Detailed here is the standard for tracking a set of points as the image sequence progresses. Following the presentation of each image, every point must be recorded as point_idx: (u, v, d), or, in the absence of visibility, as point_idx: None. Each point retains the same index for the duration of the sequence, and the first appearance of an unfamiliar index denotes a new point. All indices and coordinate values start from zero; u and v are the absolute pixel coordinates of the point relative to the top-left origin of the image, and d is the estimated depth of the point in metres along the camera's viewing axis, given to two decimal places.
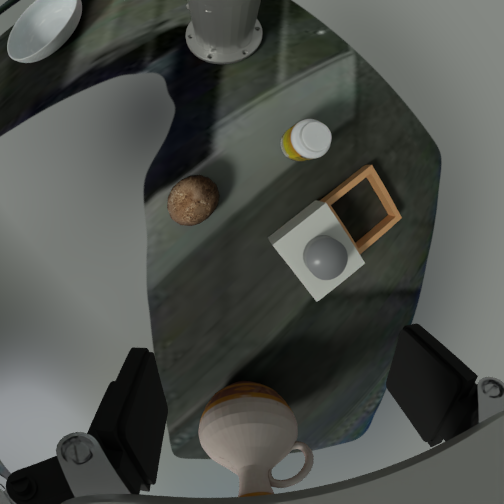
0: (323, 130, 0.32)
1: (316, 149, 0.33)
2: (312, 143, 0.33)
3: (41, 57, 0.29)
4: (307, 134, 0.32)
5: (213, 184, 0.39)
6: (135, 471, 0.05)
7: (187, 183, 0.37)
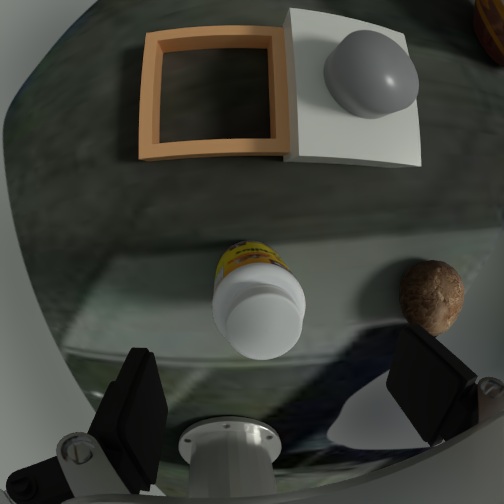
0: (241, 331, 0.14)
1: (288, 304, 0.14)
2: (287, 320, 0.14)
3: None
4: (283, 342, 0.14)
5: (409, 303, 0.22)
6: (135, 471, 0.05)
7: (436, 330, 0.21)
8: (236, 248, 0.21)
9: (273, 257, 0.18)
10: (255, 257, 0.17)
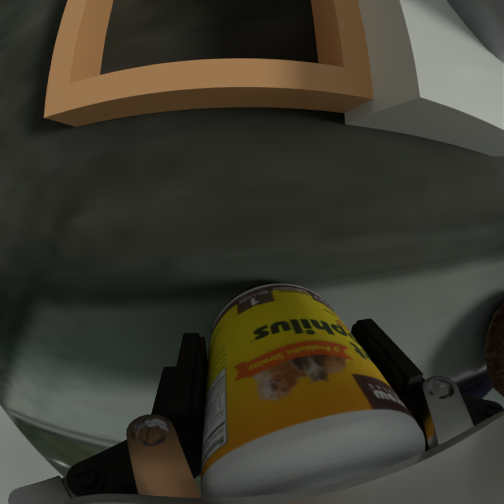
0: None
1: None
2: None
3: None
4: None
5: (502, 363, 0.11)
6: (198, 450, 0.06)
7: None
8: (253, 311, 0.09)
9: (353, 355, 0.06)
10: (318, 375, 0.05)
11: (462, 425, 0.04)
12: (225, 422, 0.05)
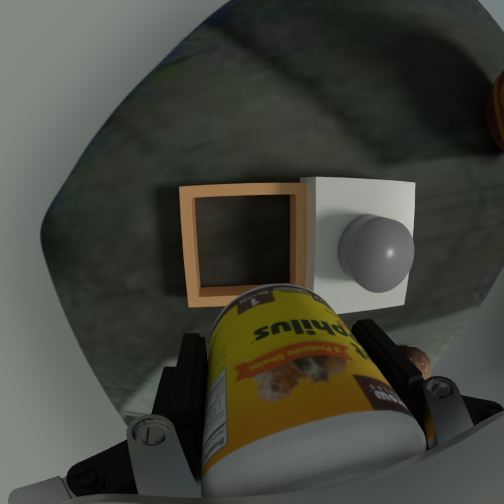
0: None
1: None
2: None
3: None
4: None
5: None
6: (198, 450, 0.06)
7: None
8: (253, 311, 0.09)
9: (354, 356, 0.06)
10: (318, 376, 0.05)
11: (462, 425, 0.04)
12: (225, 423, 0.05)
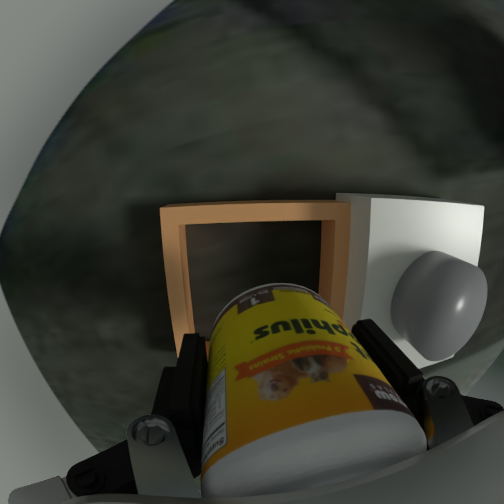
0: None
1: None
2: None
3: None
4: None
5: None
6: (198, 450, 0.06)
7: None
8: (253, 311, 0.09)
9: (355, 355, 0.06)
10: (318, 375, 0.05)
11: (462, 425, 0.04)
12: (225, 423, 0.05)
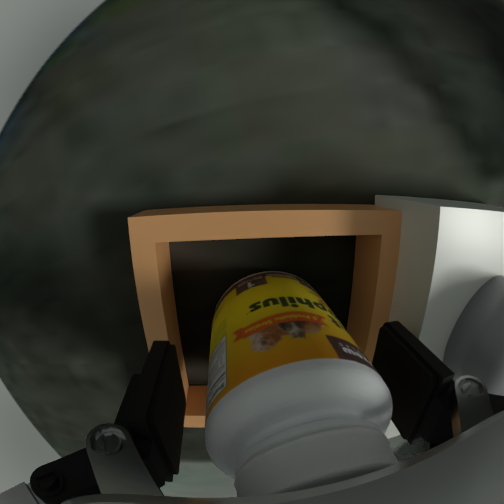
0: None
1: None
2: None
3: None
4: None
5: None
6: (162, 461, 0.06)
7: None
8: (249, 292, 0.11)
9: (329, 323, 0.08)
10: (297, 334, 0.07)
11: None
12: (225, 372, 0.07)
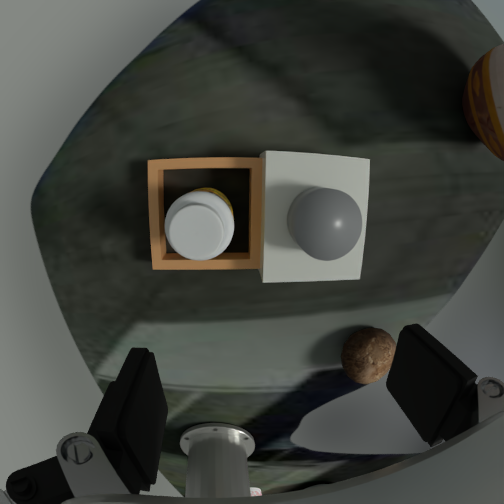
0: (178, 234, 0.19)
1: (211, 214, 0.19)
2: (211, 227, 0.19)
3: None
4: (209, 245, 0.20)
5: (346, 362, 0.32)
6: (136, 471, 0.05)
7: (365, 381, 0.31)
8: (193, 190, 0.26)
9: (215, 192, 0.24)
10: (199, 190, 0.23)
11: None
12: None
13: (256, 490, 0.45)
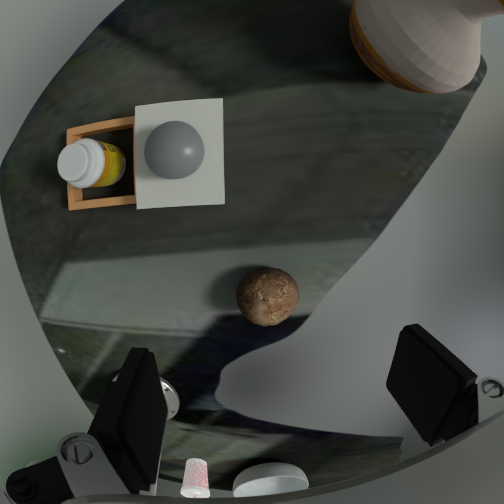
0: (62, 164, 0.23)
1: (80, 147, 0.23)
2: (80, 156, 0.23)
3: (288, 467, 0.46)
4: (78, 169, 0.23)
5: (238, 299, 0.35)
6: (136, 471, 0.05)
7: (260, 321, 0.34)
8: None
9: None
10: None
11: None
12: None
13: (199, 461, 0.47)
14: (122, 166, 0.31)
